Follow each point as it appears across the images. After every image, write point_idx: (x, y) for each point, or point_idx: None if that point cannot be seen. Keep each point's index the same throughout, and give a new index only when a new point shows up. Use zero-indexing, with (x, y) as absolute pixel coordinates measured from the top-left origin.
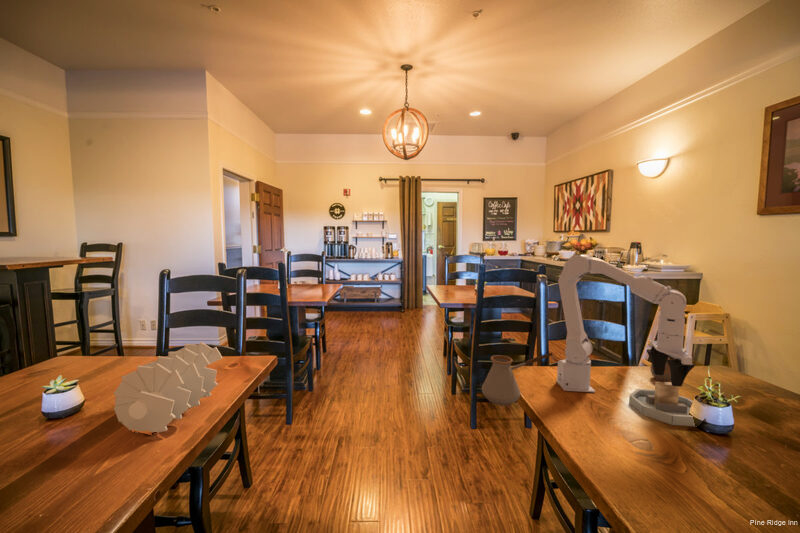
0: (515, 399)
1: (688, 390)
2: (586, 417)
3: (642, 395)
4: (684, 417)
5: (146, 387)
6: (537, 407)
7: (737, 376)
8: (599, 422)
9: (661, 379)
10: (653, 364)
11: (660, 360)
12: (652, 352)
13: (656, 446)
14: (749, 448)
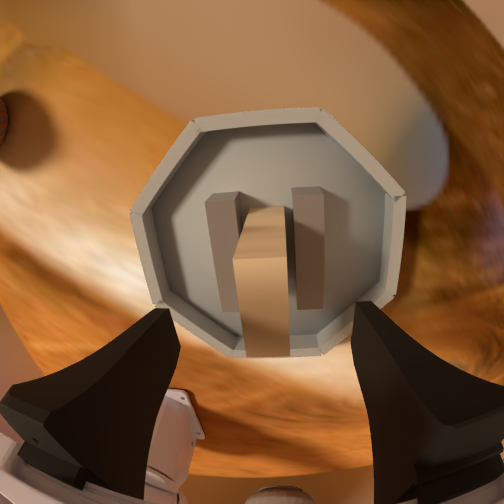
0: (307, 497)
1: (52, 58)
2: (341, 433)
3: (172, 282)
4: (400, 253)
5: None
6: (303, 472)
7: None
8: (364, 420)
9: (3, 134)
10: (156, 408)
11: (131, 409)
12: (134, 495)
13: (461, 355)
14: (490, 125)
